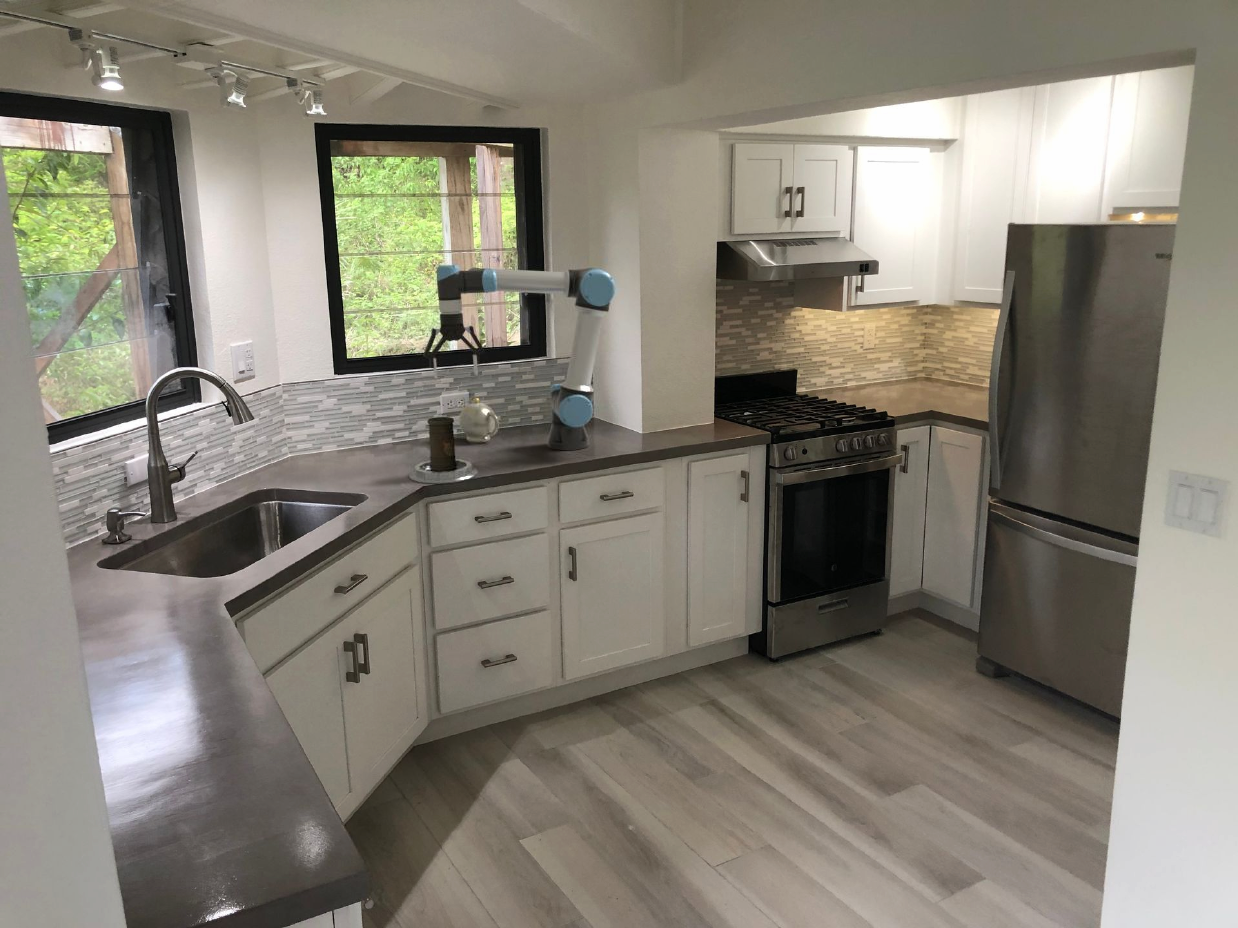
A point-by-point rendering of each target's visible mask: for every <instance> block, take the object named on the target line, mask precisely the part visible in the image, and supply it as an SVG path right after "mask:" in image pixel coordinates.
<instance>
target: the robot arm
mask: <svg viewBox="0 0 1238 928" xmlns="http://www.w3.org/2000/svg"><path fill="white" fill-rule="evenodd" d="M435 271H436V286H437V296H438V308H439V310H438V311H439V313H440V314H439V320H440V321H439V322H440V327H439V328H431V330H430V337H429V339H428V341H427V344H426V346H425V349H424V352H423V357H424V358H427V359H428V360H429V368H430V369H433V377H434V379H438V369H437V358H435V356H436V355H437V354H438V352H439V351H440V349H441V348H442V347H443V346H444V344H445V343H446V342H454V341H456V342H457V341H459V340H461V342H463V343H464V344H465V345H466V347H468V348H469V349H470V350H471V351H472V352H473V353H474V354H472V360H473V373H474V375H475V376H477V375H479V371H478V365H480V364H481V358H480V357H481V354H485V352H486V351H485V348H484V346H483V345H482V344H481V342H480V340H479V339H478V336H477V335H476V333H475V329H474V325H469V326H466V327H465V325H464V316H463V315H464V314H463V313H462V311H463V301H462V294H463V295H465V294H484V293H485V294H488V293H495V292H505V293H507V292H508V293H512V292H513V293H530V294H531V293H532V294H552V295H563V296H564V297H565V298H574V299H575V301H574V302H575V304H574V307H575V308H576V311H577V316H576V324H575V328H574V334H573V335H574V336H573V339H572V346H571V352H570V356H569V362H568V369H567V372H566V378H565V379H566V380H565V381H563V382H561V383H555V384H552V385H551V386H550V391H549V394H550V411H551V414H550V415H551V428H550V431H549V434H548V437H547V448H548V449H551V450H555V451H556V450H558V451H575V450H576V451H577V450H582V449H586V448H588V447H589V445H590V439H589V436H588V434H587V430H586V428H585V425H586V424H587V423H589V421H590V420H591V418H593V417H592V416H593V415H594V414H593V412H594V406H593V398H594V397H593V396H594V391H595V390H594V388H593V387H592V385H591V383H592V378H593V372H594V367H595V361H596V356H597V351H598V350H597V349H598V345H599V340H600V334H601V330H602V329H601V328H602V324H603V318H604V316H606V315H608V313H609V312H610V311H609V310H610V304H611V301H612V300H613V299H614V296H615V293H616V283H615V281H614V279H613V277H612V276H611V275H610V274H609V272H608V271H607V272H606V271H605V270H602V269H599V268H594V267H589V268H580V269H568V268H567V269H565V270H564V271H544V270H543V271H542V270H521V269H503V268H502V269H501V268H481V267H471V268H469V269H468V270H461V269H460V266H459V264H444V265H438V266H437V267H436V270H435ZM465 332H467V333H468V334H469V335H470V336H471V338H472V340H473V341H474V343H475V344H476V345H475V346H476V347H477V348H478V349H477V348H476V347H475V346H474V345H473V344H472V343H471V342H470V341H469V340H468V339H467V338H466V337H465V336H464V334H465ZM439 334H440V335H441V336H442V337H441V338H440V339H439V341H438V342H437V344H436V345H435V347H434V348H433V349H432V347H433V344H434V342H435V340H436V336H438V335H439ZM431 350H432V351H431Z"/></svg>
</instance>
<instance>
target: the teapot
mask: <svg viewBox="0 0 1238 928" xmlns="http://www.w3.org/2000/svg"><path fill="white" fill-rule="evenodd" d="M461 407H462V408H461V409H462V410H461V412H460V414H459V418H458V419H459V420H458V424H459V427H460V429H461V431H462V432H463V434H465V435H466V441H468V442H469V443H474V444H481V443H486V442H489V441H490V440H491V437H492V436H494V435H496V434H497V432H498V431H499V428H500V427H499V426H500V421H499V418H498V416H497V415H496V414H495V412H494V411H493V409H492V408H491V407H490V406H489V405H488V404H485V403H483V402H480V399H479V398H478V397H475V398H474V399H473V402H471V403H469V404H467V405H462V406H461Z"/></svg>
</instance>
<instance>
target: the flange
mask: <svg viewBox="0 0 1238 928" xmlns="http://www.w3.org/2000/svg"><path fill="white" fill-rule="evenodd" d="M455 460H456V464H457V467H456V468H457V469H458V470H453V471H444V472H432V471H430V469H431V468H430V465H431V463H430V460H426V461H422V462H420V463H418V464H416V465H414V470H413V471H411V472H410V473H409V479H410V480H411V481H413V482H416V483H419V484H428V485H429V484H430V485H442V484H446V485H447V484H455V483H459V482H465V481H468V480H472V479H474V478H475V477H477V476H478V473H479V470H478V469H477V468H475V467H473V465H472V463H471V461H467V460H465V459H464V460H463V459H457V458H455Z"/></svg>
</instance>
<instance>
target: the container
mask: <svg viewBox="0 0 1238 928" xmlns="http://www.w3.org/2000/svg"><path fill="white" fill-rule="evenodd" d="M454 422H455V420H454V418H453V417H450V416H438V417H430V418H428V419H427V424H428V430H429V431H428V435H429V437H428V438H429V453H430V454H429V456H430V457H429V461H430V463H431V465H430V468H431V469H430V471H432V472H444V471H453V470H458V469H457V468H456V467H457V464H456V460H455V459H456V458H457V457H456V451H455V450H456V449H455V435H454V432H455V431H454Z"/></svg>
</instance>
